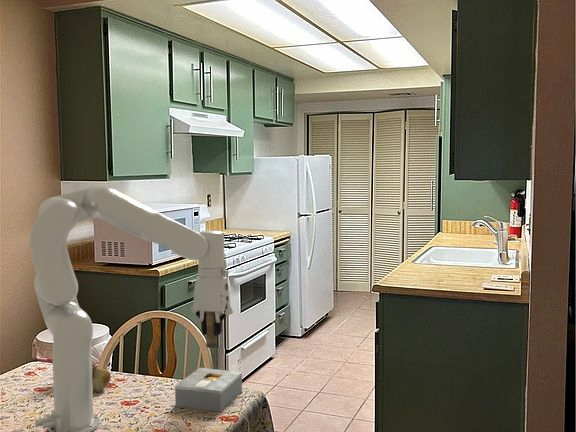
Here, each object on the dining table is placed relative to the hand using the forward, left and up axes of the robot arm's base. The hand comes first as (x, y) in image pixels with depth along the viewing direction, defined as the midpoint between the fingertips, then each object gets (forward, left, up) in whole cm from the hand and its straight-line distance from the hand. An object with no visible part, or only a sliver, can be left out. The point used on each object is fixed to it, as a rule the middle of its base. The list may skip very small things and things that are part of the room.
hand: (211, 333), depth 173 cm
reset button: (0, 0, -18) cm, 18 cm away
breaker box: (-1, -1, -19) cm, 19 cm away
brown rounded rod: (0, 0, -4) cm, 4 cm away
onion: (-26, +25, -19) cm, 41 cm away
